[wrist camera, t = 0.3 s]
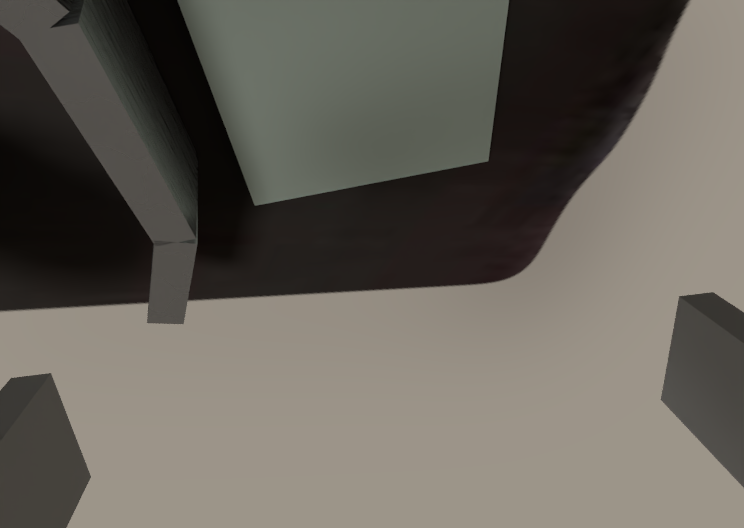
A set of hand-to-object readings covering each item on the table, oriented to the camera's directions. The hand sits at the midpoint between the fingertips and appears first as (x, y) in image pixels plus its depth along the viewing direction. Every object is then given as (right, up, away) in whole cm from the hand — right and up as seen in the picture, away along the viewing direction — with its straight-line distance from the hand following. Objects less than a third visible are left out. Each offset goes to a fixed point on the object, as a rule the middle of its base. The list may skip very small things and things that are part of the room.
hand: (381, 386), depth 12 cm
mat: (-1, +10, +11) cm, 15 cm away
